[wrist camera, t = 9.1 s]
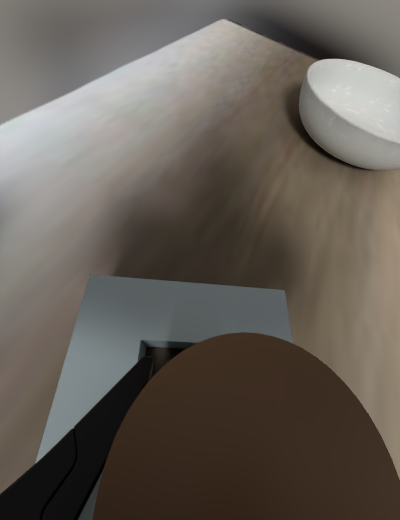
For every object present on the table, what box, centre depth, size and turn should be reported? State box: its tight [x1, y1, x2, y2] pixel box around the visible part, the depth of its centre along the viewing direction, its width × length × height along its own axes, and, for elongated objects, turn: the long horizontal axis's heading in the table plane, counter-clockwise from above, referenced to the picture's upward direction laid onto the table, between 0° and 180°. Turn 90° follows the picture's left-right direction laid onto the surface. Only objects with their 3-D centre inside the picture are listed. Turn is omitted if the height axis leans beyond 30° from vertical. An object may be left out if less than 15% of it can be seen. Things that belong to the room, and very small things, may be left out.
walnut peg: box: [92, 332, 400, 520], centre depth 8 cm, size 4×4×12 cm
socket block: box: [36, 274, 293, 463], centre depth 14 cm, size 14×14×4 cm
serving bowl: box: [299, 59, 400, 170], centre depth 32 cm, size 21×21×7 cm
